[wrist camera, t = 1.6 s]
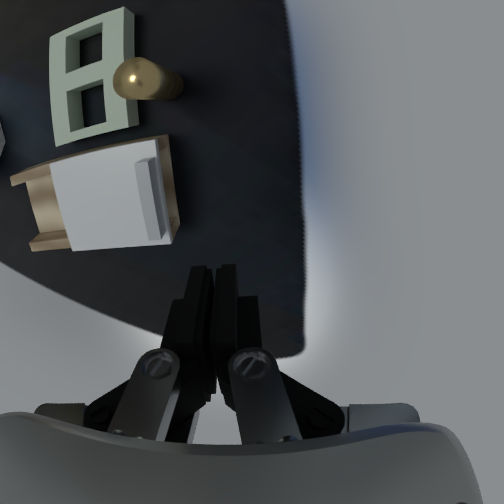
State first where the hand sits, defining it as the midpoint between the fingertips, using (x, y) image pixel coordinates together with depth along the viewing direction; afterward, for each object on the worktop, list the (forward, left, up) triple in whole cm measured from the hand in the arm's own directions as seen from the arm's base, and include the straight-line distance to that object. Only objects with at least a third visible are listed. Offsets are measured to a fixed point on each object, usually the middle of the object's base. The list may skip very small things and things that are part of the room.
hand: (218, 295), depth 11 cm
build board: (-13, -14, -19) cm, 27 cm away
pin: (-10, -6, -19) cm, 22 cm away
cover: (0, -12, -15) cm, 19 cm away
